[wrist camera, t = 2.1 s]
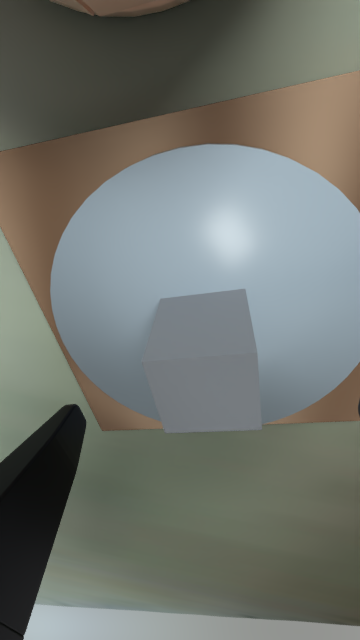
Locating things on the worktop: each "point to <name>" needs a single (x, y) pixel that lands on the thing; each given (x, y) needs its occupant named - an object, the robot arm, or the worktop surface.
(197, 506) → the worktop surface
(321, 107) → the board
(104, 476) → the worktop surface
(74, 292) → the lid
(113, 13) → the bowl
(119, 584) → the worktop surface
